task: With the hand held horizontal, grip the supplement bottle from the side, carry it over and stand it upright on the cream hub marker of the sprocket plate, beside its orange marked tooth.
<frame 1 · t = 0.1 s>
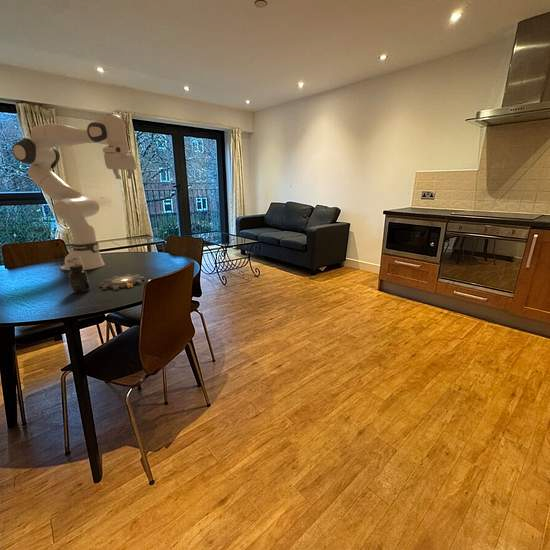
hand: (124, 178, 154), 48 cm above the table, tool pointing down, fingers open, 8 cm apart
supplement bottle: (82, 291, 134), on the table
sprocket plate: (122, 283, 143), on the table
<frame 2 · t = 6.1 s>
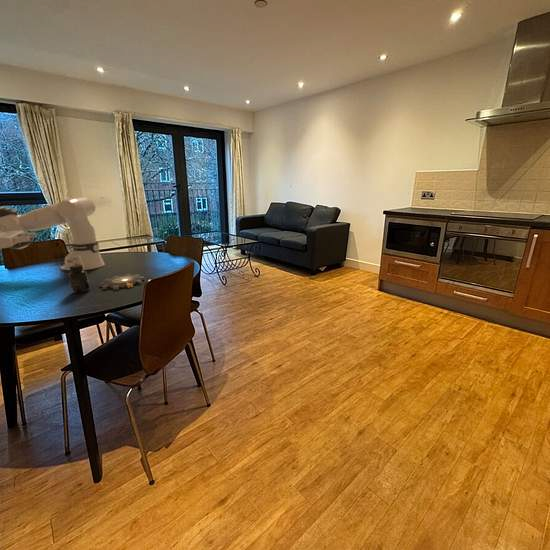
hand: (32, 236, 121), 26 cm above the table, tool horizontal, fingers open, 8 cm apart
nothing on the table moved.
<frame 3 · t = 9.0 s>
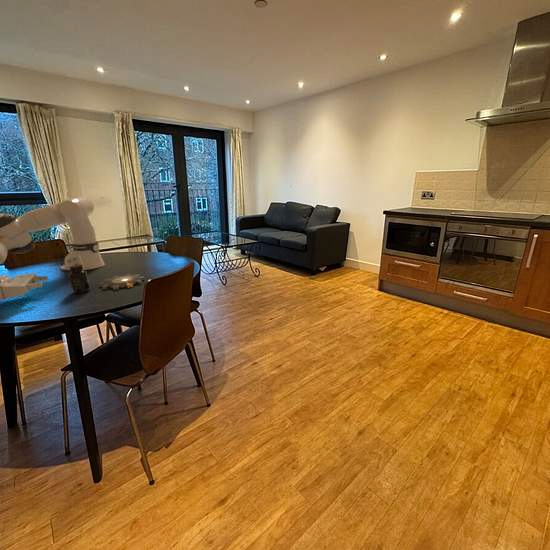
hand: (44, 280, 127), 7 cm above the table, tool horizontal, fingers open, 8 cm apart
nothing on the table moved.
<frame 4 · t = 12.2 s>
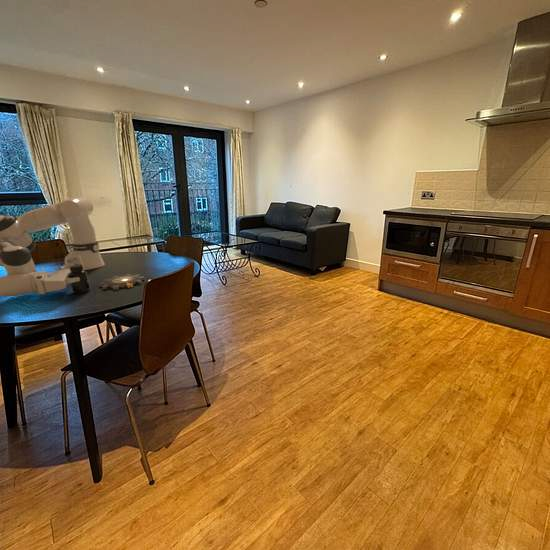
hand: (80, 276, 132), 7 cm above the table, tool horizontal, fingers closed on supplement bottle, 7 cm apart
supplement bottle: (82, 291, 134), on the table, touching gripper
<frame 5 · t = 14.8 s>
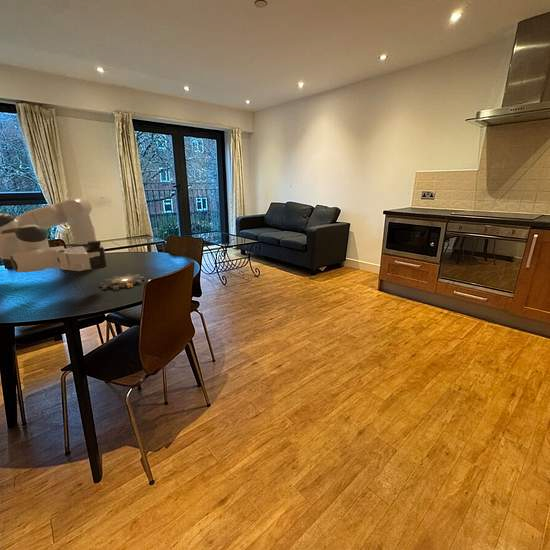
hand: (98, 251, 133), 17 cm above the table, tool horizontal, fingers closed on supplement bottle, 7 cm apart
supplement bottle: (99, 267, 135), point 10 cm above the table, touching gripper
when the fingers open (10 cm above the table, at t = 17.5 s): supplement bottle stays where it is, resting on sprocket plate.
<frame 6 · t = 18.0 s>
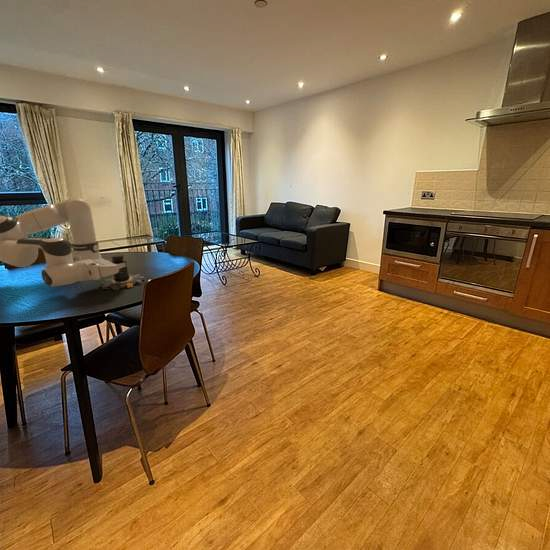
hand: (121, 262, 141), 10 cm above the table, tool horizontal, fingers open, 8 cm apart
supplement bottle: (122, 280, 143), point 2 cm above the table, touching sprocket plate
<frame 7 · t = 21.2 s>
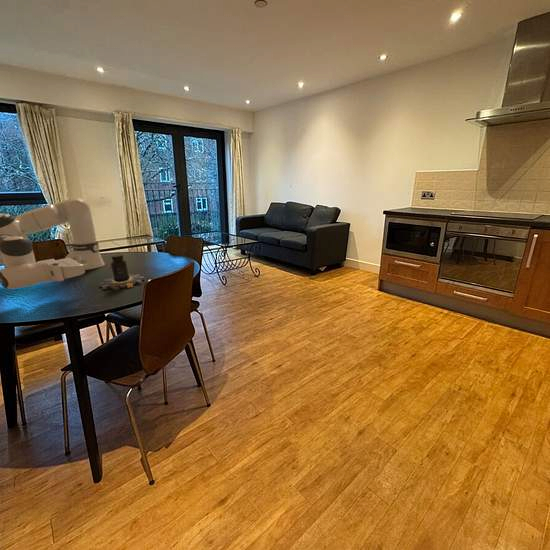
hand: (89, 262, 131), 13 cm above the table, tool horizontal, fingers open, 8 cm apart
nothing on the table moved.
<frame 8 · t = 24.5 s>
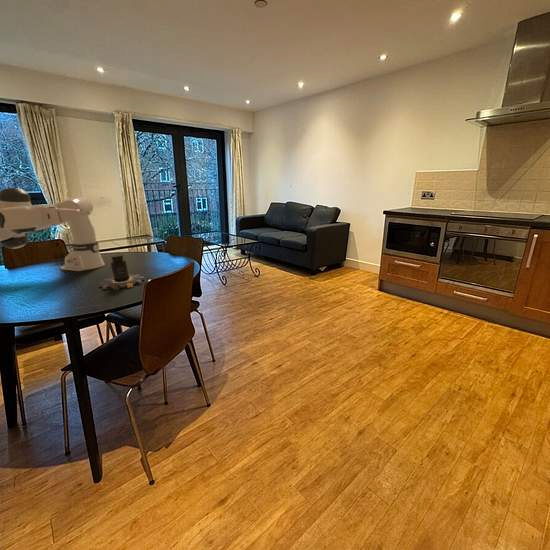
hand: (85, 212, 133), 34 cm above the table, tool horizontal, fingers open, 8 cm apart
nothing on the table moved.
at the end: supplement bottle 0.2 cm off-centre on the sprocket plate, point 1.5 cm above the sprocket plate's base; supplement bottle tilted 1°; the gripper is holding nothing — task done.
